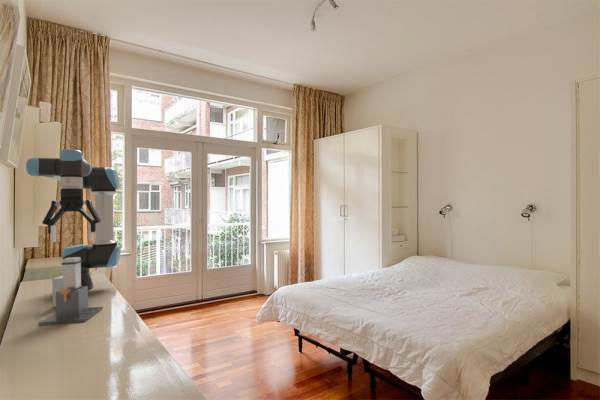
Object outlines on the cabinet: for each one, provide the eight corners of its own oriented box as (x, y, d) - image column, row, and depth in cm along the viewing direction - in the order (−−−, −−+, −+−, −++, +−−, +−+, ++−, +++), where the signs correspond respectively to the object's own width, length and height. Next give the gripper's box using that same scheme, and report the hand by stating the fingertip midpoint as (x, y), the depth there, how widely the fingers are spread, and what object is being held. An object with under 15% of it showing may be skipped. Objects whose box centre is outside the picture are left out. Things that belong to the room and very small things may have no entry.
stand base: (61, 311, 143) (60, 283, 143) (102, 308, 145) (102, 281, 145) (38, 325, 127) (38, 293, 127) (85, 321, 130) (85, 290, 130)
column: (68, 312, 138) (67, 257, 138) (82, 311, 139) (81, 256, 139) (62, 316, 133) (61, 259, 133) (76, 315, 134) (75, 258, 134)
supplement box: (80, 302, 156) (79, 274, 156) (67, 307, 149) (67, 278, 149) (65, 302, 157) (64, 274, 157) (52, 307, 150) (51, 278, 150)
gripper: (31, 188, 132) (31, 243, 131) (101, 187, 136) (102, 240, 135) (42, 189, 139) (43, 241, 138) (108, 188, 143) (109, 239, 143)
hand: (72, 241), depth 137 cm, fingers open, 13 cm apart
